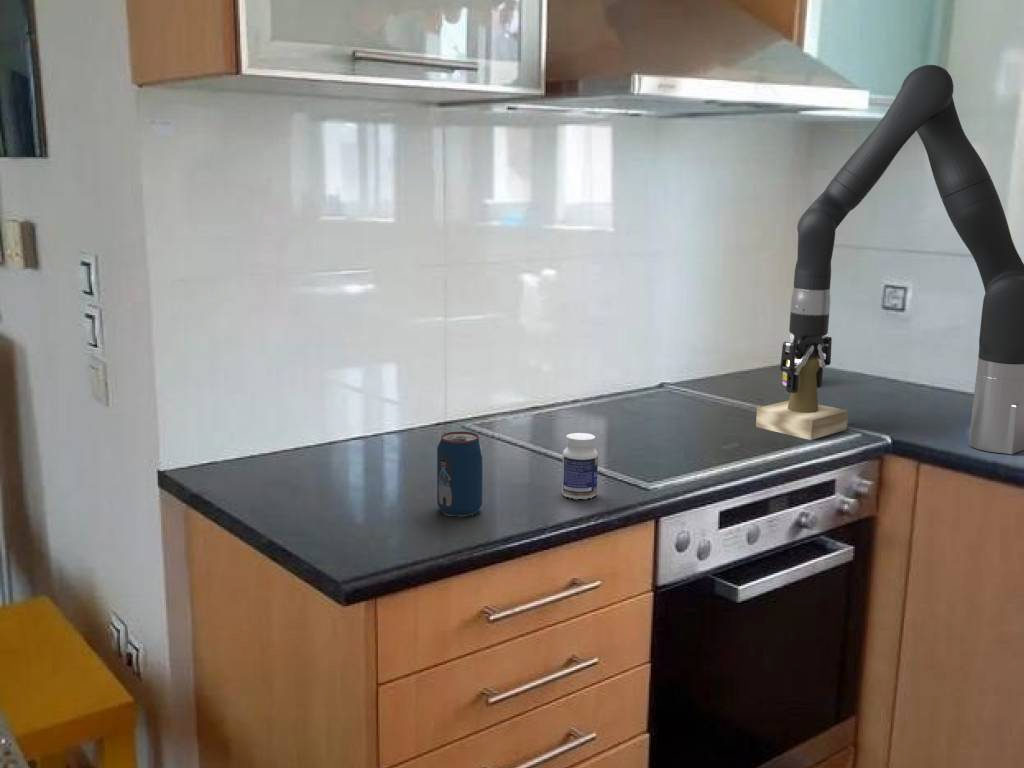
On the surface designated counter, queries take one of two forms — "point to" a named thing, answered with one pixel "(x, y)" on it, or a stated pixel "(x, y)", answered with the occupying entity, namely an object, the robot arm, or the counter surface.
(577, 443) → the pill bottle
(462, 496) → the soda can
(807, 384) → the cork
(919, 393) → the counter surface
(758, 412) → the block
